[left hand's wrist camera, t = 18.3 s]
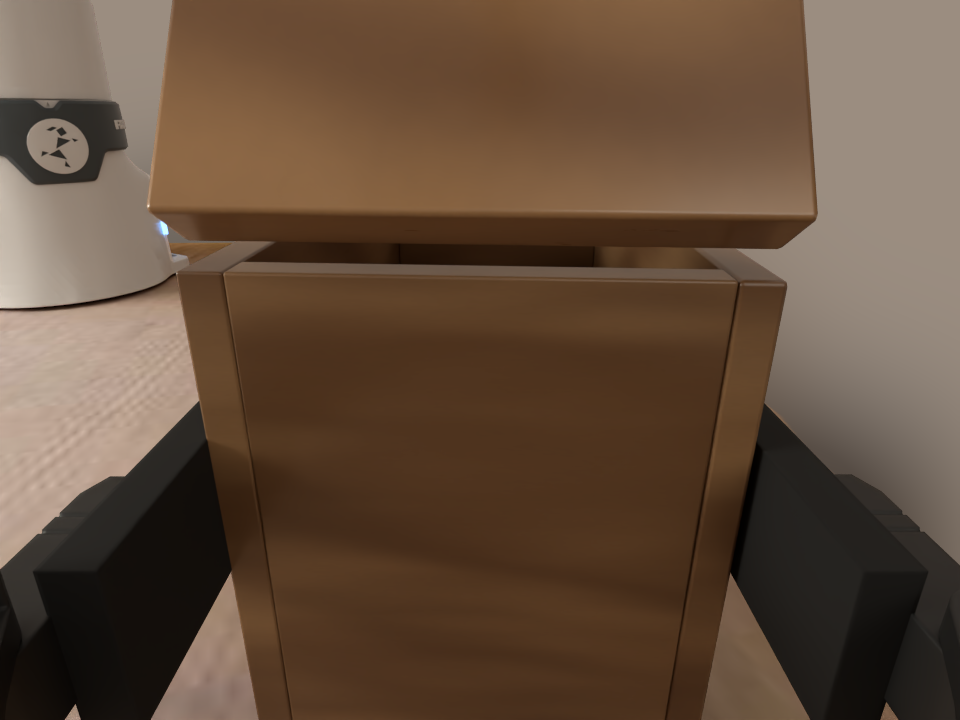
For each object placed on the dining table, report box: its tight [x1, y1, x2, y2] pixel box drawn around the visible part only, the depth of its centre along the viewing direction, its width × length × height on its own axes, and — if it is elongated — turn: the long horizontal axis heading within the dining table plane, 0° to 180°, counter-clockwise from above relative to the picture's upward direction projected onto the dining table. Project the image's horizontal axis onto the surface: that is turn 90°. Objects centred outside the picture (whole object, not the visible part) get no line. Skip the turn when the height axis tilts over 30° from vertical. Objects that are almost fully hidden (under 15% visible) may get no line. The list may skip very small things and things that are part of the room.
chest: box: [176, 241, 787, 720], centre depth 18 cm, size 16×9×11 cm, turn 177°
